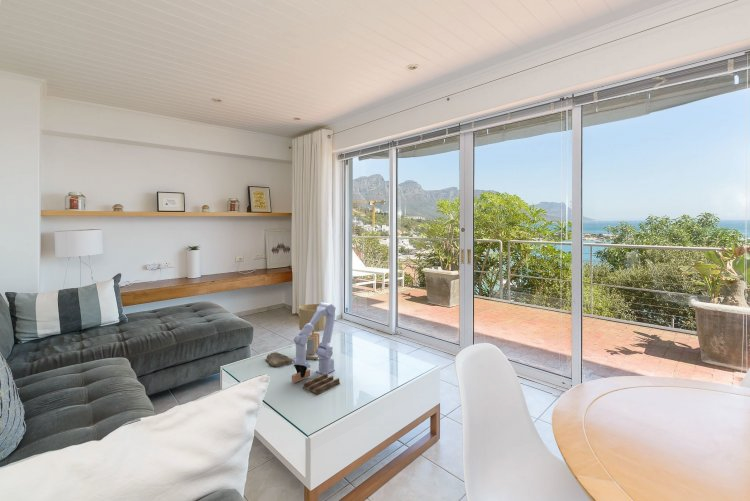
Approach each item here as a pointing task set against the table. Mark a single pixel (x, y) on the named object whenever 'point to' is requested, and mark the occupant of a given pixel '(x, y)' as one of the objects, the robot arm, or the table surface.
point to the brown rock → (278, 359)
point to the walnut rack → (320, 384)
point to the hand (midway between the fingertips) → (301, 376)
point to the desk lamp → (314, 338)
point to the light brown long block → (297, 376)
